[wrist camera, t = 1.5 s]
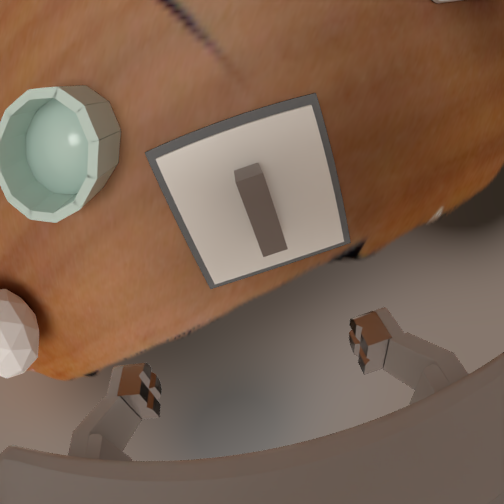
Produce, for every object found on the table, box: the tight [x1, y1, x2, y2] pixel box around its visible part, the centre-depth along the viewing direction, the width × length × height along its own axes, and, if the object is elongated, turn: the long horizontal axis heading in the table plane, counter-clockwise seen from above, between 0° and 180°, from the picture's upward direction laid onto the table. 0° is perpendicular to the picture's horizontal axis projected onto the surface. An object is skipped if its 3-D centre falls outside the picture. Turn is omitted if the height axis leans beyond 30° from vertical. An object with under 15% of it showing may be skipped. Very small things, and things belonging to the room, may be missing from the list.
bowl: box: [0, 86, 121, 223], centre depth 23 cm, size 13×13×6 cm
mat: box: [145, 93, 351, 289], centre depth 31 cm, size 18×18×1 cm
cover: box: [156, 105, 344, 284], centre depth 29 cm, size 16×16×5 cm
